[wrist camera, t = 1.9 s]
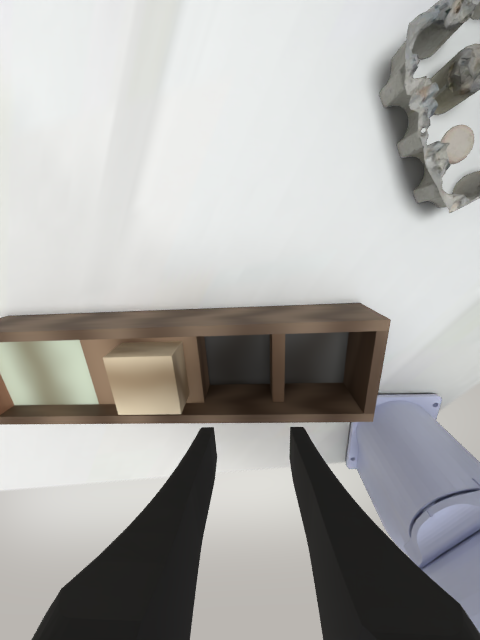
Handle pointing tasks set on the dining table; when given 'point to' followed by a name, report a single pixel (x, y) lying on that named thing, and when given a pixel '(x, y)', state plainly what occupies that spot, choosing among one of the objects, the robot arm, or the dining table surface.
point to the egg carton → (436, 100)
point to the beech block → (148, 378)
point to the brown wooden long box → (200, 364)
